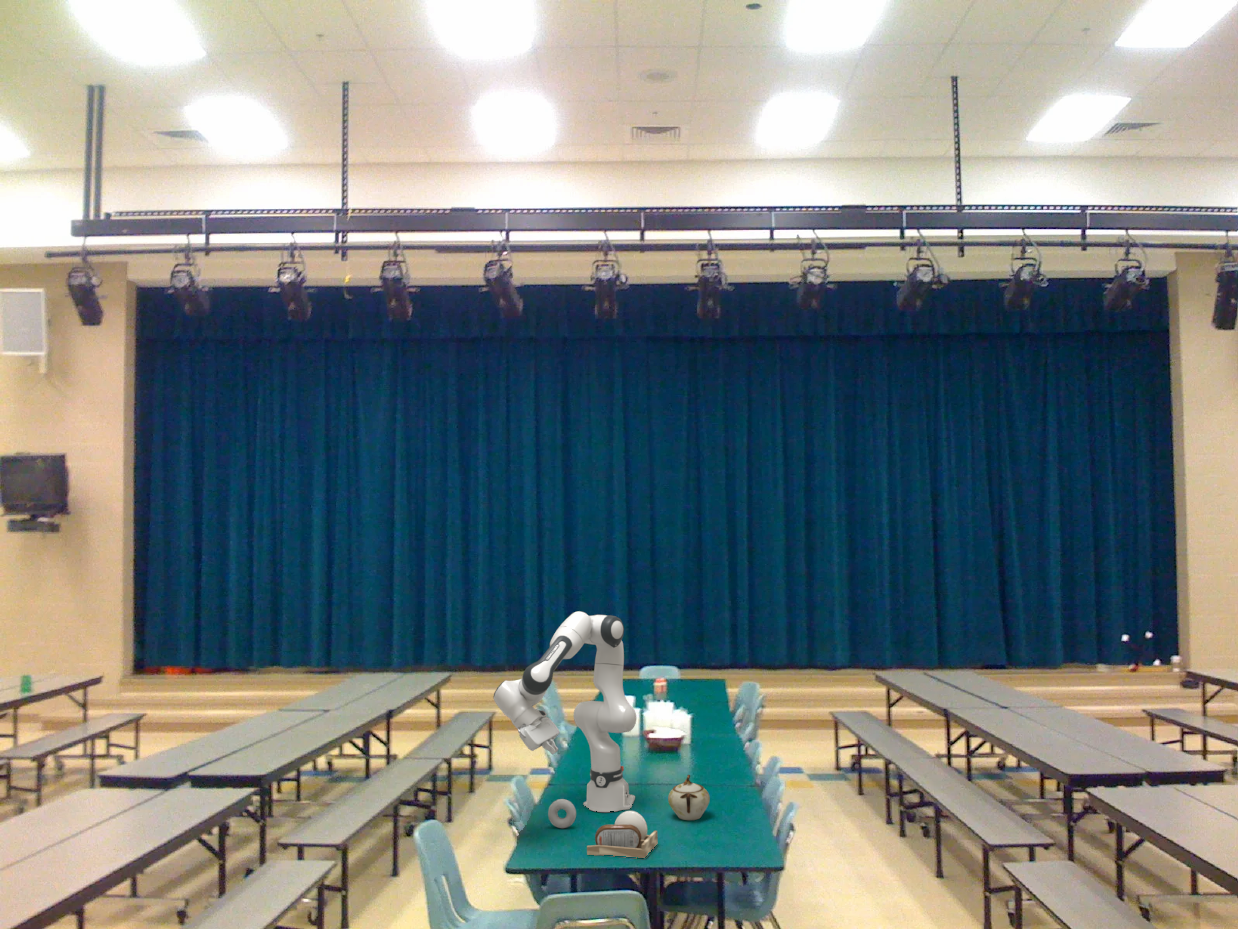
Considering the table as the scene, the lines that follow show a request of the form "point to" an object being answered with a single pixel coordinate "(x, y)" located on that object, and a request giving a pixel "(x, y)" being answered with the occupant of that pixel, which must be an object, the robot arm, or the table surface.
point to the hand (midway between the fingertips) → (555, 752)
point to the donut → (569, 810)
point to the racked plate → (633, 821)
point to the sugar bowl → (688, 800)
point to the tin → (618, 836)
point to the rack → (626, 848)
